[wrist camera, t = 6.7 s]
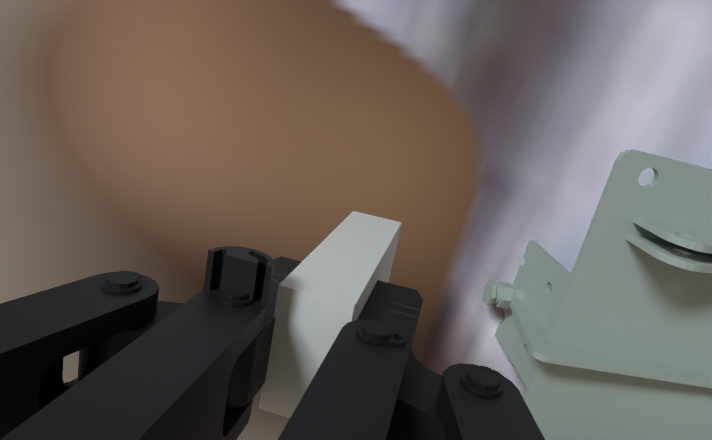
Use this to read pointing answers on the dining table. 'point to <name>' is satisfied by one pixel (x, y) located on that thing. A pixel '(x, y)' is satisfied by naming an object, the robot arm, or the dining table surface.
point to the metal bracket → (621, 313)
